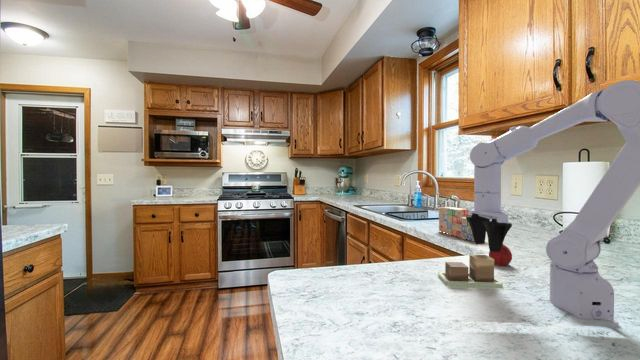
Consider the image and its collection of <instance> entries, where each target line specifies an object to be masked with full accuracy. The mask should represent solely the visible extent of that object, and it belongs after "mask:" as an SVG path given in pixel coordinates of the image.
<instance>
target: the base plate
mask: <svg viewBox="0 0 640 360" xmlns="http://www.w3.org/2000/svg"><path fill="white" fill-rule="evenodd" d="M435 274H436V276H438V278H439V279H440V280H441V281H442V282H443V284H445V286H446V287H447V288H448V289H465V290H466V289H469V290H491V291H492V290H495V291H496V290H498V291H501V290H502V291H509V289H508V288H506V287H505V286H504V282H503V281H501V280H500V279H498V278H497V277H496V276H494V282H475V281H474V280H473V279H471V278H470V277H469V272H468V281H449V280H448V279H447V278H446V277H445V272H444V271H438V272H435Z"/></svg>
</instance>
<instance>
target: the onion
mask: <svg viewBox="0 0 640 360" xmlns="http://www.w3.org/2000/svg"><path fill="white" fill-rule="evenodd" d="M488 256H489V257H491V258H492V259H494V265H496V266H501V267H505V266H507V265H509V264H510V263H511V262H512V260H513V253H512V252H511V250H510V248H509V247H508V246H507V245H505V244H504V243H503V244H502V248H501V251H500V252H491V251H490V250H489V251H488Z"/></svg>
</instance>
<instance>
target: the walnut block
mask: <svg viewBox="0 0 640 360" xmlns="http://www.w3.org/2000/svg"><path fill="white" fill-rule="evenodd" d="M444 265H445V269H444V270H445V277H446V278H447V279H448V280H449V281H468V273H469V266H467V265H466V264H465V263H463V262H462V261H445V262H444Z"/></svg>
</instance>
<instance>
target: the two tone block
mask: <svg viewBox="0 0 640 360" xmlns="http://www.w3.org/2000/svg"><path fill="white" fill-rule="evenodd" d="M468 260H469V263H468V265H469V266H468V273H469V277H470V278H471V279H473V280H474V281H475V282H494V277H495V264H494V259H492V258H491V257H489V255H487V254H469V259H468Z"/></svg>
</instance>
